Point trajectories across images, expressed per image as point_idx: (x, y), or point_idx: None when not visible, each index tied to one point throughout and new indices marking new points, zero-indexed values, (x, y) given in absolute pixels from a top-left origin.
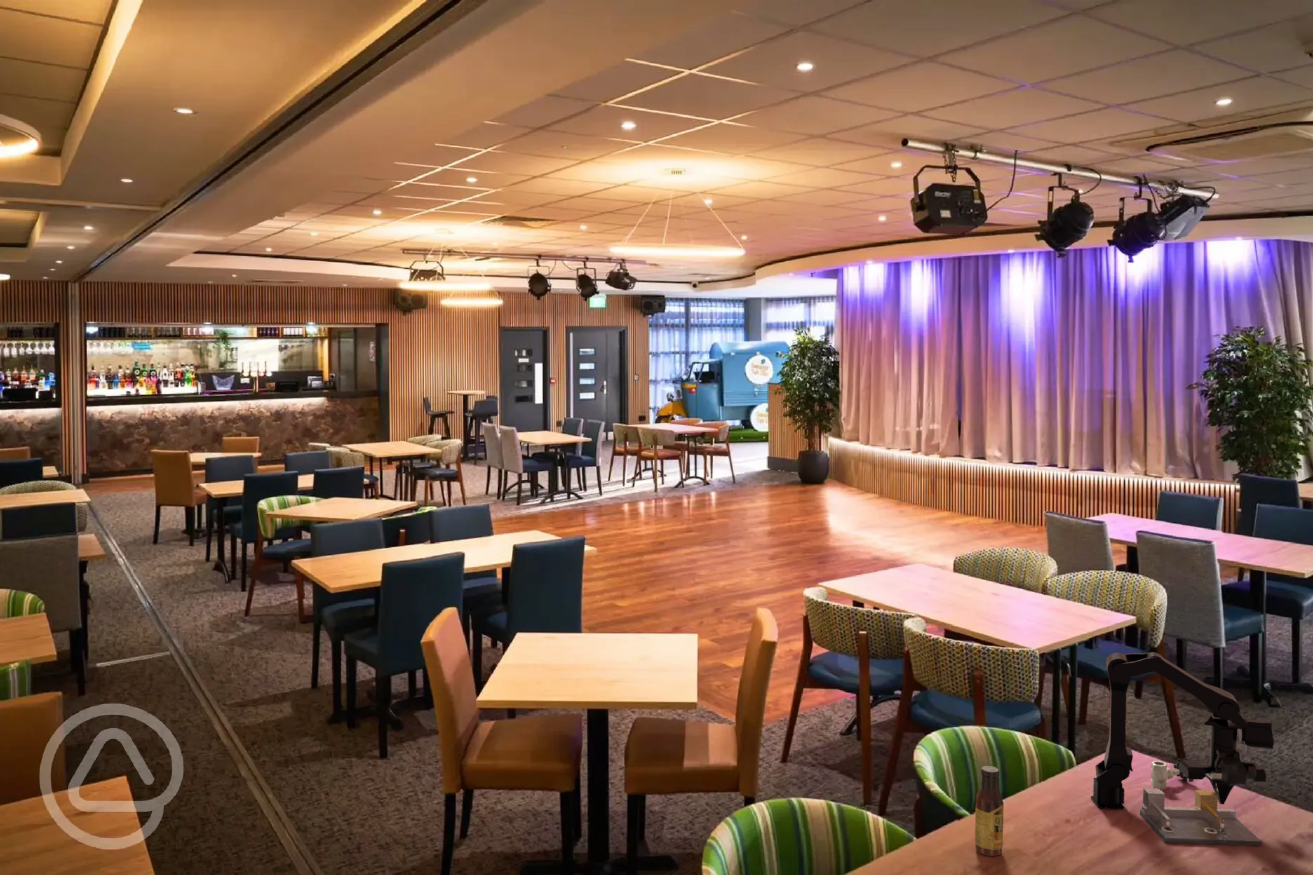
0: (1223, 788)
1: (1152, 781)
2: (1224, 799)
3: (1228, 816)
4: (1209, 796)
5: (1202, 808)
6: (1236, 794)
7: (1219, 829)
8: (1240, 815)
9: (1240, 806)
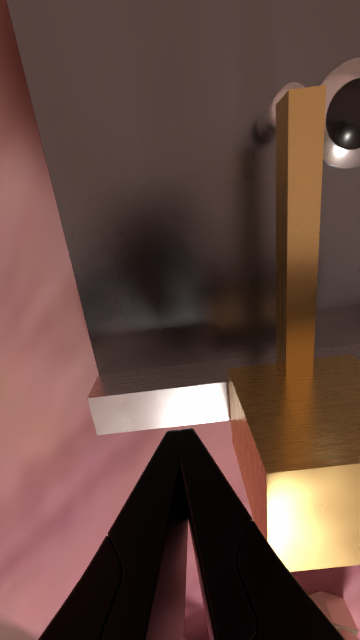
0: (168, 614)
1: (354, 633)
2: (166, 459)
3: (142, 371)
4: (355, 448)
5: (345, 362)
6: (34, 604)
7: (271, 164)
8: (61, 441)
9: (40, 521)
